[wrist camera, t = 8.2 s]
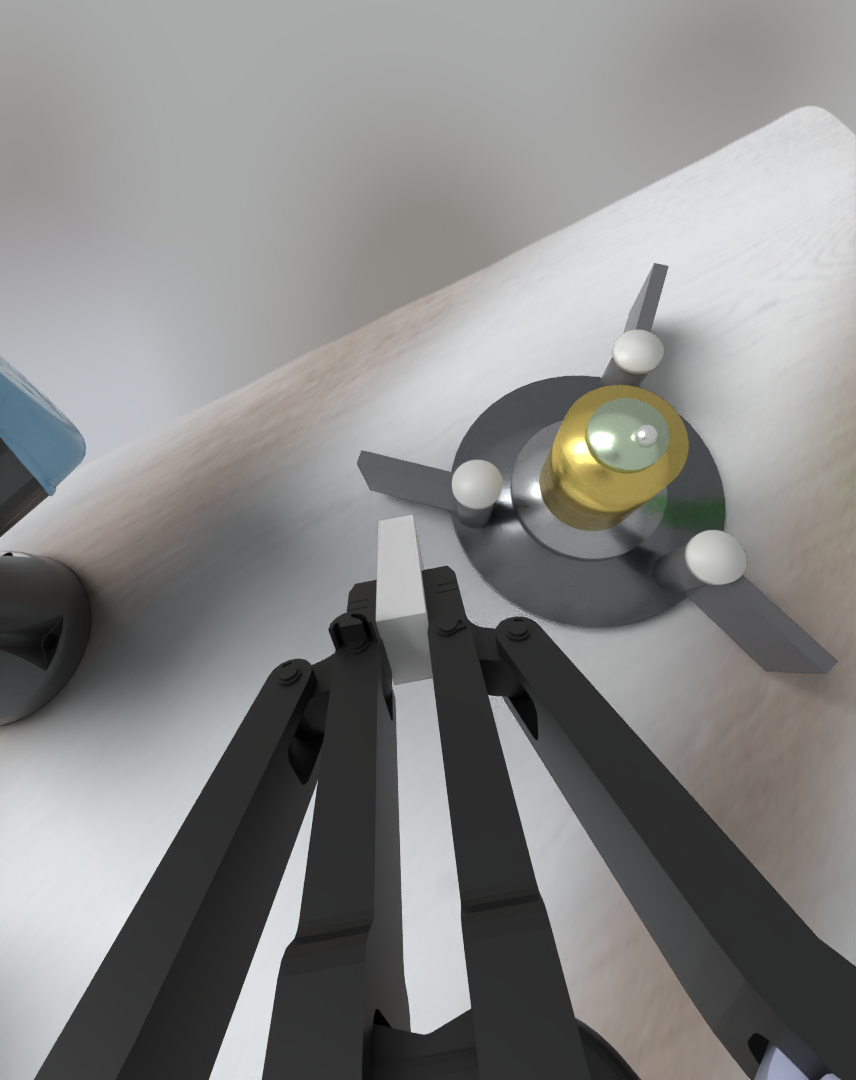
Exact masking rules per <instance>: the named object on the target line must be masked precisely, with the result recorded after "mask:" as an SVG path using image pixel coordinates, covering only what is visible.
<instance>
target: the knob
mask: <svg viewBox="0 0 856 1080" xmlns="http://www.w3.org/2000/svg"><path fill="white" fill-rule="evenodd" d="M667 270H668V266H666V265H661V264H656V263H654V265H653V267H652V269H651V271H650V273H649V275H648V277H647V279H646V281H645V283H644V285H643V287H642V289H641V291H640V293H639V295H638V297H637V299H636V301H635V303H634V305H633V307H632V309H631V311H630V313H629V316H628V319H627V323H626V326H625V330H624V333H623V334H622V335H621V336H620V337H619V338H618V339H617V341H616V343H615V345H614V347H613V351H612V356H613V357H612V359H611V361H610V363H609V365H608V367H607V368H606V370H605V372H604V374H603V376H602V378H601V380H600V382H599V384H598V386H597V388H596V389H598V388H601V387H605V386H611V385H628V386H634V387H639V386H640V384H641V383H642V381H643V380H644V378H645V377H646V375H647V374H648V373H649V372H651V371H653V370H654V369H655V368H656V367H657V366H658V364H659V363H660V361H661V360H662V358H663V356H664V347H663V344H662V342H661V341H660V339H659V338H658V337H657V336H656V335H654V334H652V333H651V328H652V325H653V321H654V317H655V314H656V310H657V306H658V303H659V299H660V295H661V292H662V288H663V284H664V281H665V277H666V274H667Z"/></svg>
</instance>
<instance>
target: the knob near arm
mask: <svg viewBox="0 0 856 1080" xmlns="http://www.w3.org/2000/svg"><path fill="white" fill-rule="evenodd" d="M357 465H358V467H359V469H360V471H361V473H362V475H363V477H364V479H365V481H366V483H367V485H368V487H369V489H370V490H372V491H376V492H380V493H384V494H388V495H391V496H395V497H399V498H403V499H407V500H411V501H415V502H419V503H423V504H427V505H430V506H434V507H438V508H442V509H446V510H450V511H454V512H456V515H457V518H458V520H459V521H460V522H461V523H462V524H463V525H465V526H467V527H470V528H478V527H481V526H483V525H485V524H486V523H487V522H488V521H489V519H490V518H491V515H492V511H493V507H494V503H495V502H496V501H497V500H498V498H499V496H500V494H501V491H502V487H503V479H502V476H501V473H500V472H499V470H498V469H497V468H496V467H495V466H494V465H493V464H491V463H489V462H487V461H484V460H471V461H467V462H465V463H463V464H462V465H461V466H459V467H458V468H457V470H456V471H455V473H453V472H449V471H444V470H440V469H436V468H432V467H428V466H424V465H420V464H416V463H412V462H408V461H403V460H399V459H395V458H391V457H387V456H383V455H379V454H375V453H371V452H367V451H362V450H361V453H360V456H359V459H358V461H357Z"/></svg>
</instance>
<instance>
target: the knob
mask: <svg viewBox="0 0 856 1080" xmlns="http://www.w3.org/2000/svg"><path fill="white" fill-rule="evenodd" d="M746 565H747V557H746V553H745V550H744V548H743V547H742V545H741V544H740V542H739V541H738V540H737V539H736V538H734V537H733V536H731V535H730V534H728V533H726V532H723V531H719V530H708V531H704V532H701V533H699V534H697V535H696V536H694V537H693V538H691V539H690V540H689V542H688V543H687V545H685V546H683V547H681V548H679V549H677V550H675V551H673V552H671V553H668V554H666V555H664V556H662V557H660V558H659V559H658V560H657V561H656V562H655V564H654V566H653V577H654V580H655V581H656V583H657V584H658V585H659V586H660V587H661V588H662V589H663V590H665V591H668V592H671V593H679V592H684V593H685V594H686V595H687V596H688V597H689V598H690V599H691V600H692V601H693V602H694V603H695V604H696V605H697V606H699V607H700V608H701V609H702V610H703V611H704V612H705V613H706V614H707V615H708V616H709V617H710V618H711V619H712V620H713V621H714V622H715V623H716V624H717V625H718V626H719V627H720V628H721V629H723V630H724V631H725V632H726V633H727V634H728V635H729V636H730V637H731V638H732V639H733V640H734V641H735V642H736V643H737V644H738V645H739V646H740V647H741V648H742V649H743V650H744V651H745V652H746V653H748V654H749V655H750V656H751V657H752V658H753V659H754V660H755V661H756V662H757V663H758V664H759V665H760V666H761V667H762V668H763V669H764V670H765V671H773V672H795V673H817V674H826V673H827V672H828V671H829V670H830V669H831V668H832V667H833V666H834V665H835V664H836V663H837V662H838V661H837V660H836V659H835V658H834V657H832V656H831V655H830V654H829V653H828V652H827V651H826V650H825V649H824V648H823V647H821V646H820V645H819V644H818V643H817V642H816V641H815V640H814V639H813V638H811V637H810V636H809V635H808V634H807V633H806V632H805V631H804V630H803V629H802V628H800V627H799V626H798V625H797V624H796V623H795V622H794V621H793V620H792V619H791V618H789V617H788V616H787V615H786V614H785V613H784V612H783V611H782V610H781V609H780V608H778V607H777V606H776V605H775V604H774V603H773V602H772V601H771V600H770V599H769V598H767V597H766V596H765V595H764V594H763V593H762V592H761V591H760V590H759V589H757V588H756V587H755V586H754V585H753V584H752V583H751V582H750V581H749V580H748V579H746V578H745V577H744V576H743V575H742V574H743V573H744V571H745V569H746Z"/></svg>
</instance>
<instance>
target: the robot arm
mask: <svg viewBox="0 0 856 1080" xmlns="http://www.w3.org/2000/svg"><path fill="white" fill-rule="evenodd" d="M85 450H86V446H85V441H84V438H83V436H82V435H81V433H80V432H79V430H78V429H77V428H76V427H75V426H74V424H73V423H72V422H71V421H70V420H69V419H68V418H67V417H66V416H65V415H64V414H63V413H62V412H61V411H60V410H59V409H58V408H57V407H56V406H55V405H54V404H53V403H52V402H51V401H50V400H49V399H48V398H47V397H46V396H45V395H44V394H42V393H41V392H40V391H39V390H38V389H37V388H36V387H35V386H34V385H33V384H32V383H31V382H30V381H28V380H27V379H26V378H25V377H24V376H23V375H22V374H21V373H20V372H19V371H17V370H16V369H15V368H14V367H13V366H12V365H11V364H10V363H8V362H7V361H6V360H5V359H4V358H3V357H2V356H0V537H1V536H2V535H4V534H5V533H6V532H7V531H8V530H9V529H11V528H12V527H13V526H14V525H15V524H16V523H18V522H19V521H20V520H21V519H22V518H23V517H25V516H26V515H27V514H28V513H29V512H30V511H32V510H33V509H34V508H35V507H36V506H37V505H38V504H40V503H41V502H42V501H43V500H44V499H45V498H47V497H48V496H52V495H54V493H55V492H56V487H57V486H58V485H59V484H60V483H61V482H62V481H63V480H64V479H65V478H66V477H67V476H68V475H69V474H70V473H71V472H72V471H73V470H74V469H75V468H76V467H77V466H78V465H79V464H80V463H81V462H82V460H83V458H84V456H85ZM89 628H90V608H89V602H88V598H87V595H86V592H85V590H84V587H83V586H82V584H81V582H80V580H79V579H78V578H77V576H76V575H75V574H74V573H73V572H72V571H71V570H70V569H69V568H67V567H66V566H65V565H63V564H61V563H59V562H57V561H55V560H52V559H50V558H46V557H41V556H37V555H33V554H29V553H24V552H16V551H0V725H4V724H8V723H11V722H14V721H17V720H20V719H22V718H24V717H26V716H28V715H30V714H32V713H33V712H35V711H36V710H38V709H39V708H41V707H42V706H44V705H45V704H46V703H47V702H49V701H50V700H51V699H52V698H53V697H54V696H55V695H56V694H57V693H58V692H59V691H60V690H61V689H62V687H63V686H64V685H65V684H66V683H67V681H68V680H69V679H70V677H71V676H72V674H73V672H74V671H75V669H76V667H77V665H78V663H79V662H80V659H81V657H82V655H83V652H84V649H85V647H86V643H87V639H88V635H89ZM328 630H329V633H330V635H331V638H332V641H333V643H334V646H335V649H336V652H335V653H334V654H333V655H331V656H330V657H328V658H326V659H325V660H322V661H320V662H318V663H316V664H313V665H311V664H310V663H309V662H308V661H306V660H304V659H293V660H289V661H287V662H284V663H282V664H281V665H279V666H278V667H277V668H275V669H274V670H273V672H272V673H271V674H270V675H269V677H268V679H267V680H266V682H265V684H264V685H263V687H262V689H261V691H260V692H259V694H258V696H257V697H256V699H255V701H254V703H253V704H252V706H251V708H250V709H249V711H248V713H247V715H246V716H245V718H244V720H243V721H242V723H241V725H240V727H239V728H238V730H237V732H236V734H235V735H234V737H233V739H232V740H231V742H230V744H229V746H228V747H227V749H226V751H225V752H224V754H223V756H222V758H221V759H220V761H219V763H218V764H217V766H216V768H215V770H214V771H213V773H212V775H211V776H210V778H209V780H208V782H207V783H206V785H205V787H204V788H203V790H202V792H201V794H200V795H199V797H198V799H197V800H196V802H195V804H194V806H193V807H192V809H191V811H190V813H189V814H188V816H187V818H186V819H185V821H184V823H183V825H182V826H181V828H180V830H179V831H178V833H177V835H176V837H175V838H174V840H173V842H172V843H171V845H170V847H169V849H168V850H167V852H166V854H165V855H164V857H163V859H162V861H161V862H160V864H159V866H158V867H157V869H156V871H155V873H154V874H153V876H152V878H151V879H150V881H149V883H148V885H147V886H146V888H145V890H144V892H143V893H142V895H141V897H140V898H139V900H138V902H137V904H136V905H135V907H134V909H133V910H132V912H131V914H130V916H129V917H128V919H127V921H126V922H125V924H124V926H123V928H122V929H121V931H120V933H119V934H118V936H117V938H116V940H115V941H114V943H113V945H112V946H111V948H110V950H109V952H108V953H107V955H106V957H105V958H104V960H103V962H102V964H101V965H100V967H99V969H98V971H97V972H96V974H95V976H94V977H93V979H92V981H91V983H90V984H89V986H88V988H87V989H86V991H85V993H84V995H83V996H82V998H81V1000H80V1001H79V1003H78V1005H77V1007H76V1008H75V1010H74V1012H73V1013H72V1015H71V1017H70V1019H69V1020H68V1022H67V1024H66V1025H65V1027H64V1029H63V1031H62V1032H61V1034H60V1036H59V1037H58V1039H57V1041H56V1043H55V1044H54V1046H53V1048H52V1050H51V1051H50V1053H49V1055H48V1056H47V1058H46V1060H45V1062H44V1063H43V1065H42V1067H41V1068H40V1070H39V1072H38V1074H37V1075H36V1077H35V1079H34V1080H209V1077H210V1075H211V1072H212V1069H213V1066H214V1064H215V1061H216V1058H217V1055H218V1053H219V1050H220V1047H221V1044H222V1042H223V1039H224V1036H225V1033H226V1031H227V1028H228V1025H229V1022H230V1020H231V1017H232V1014H233V1011H234V1009H235V1006H236V1003H237V1000H238V998H239V995H240V992H241V989H242V987H243V984H244V981H245V978H246V976H247V973H248V970H249V967H250V965H251V962H252V959H253V956H254V954H255V951H256V948H257V945H258V943H259V940H260V937H261V935H262V932H263V929H264V926H265V924H266V921H267V918H268V915H269V913H270V910H271V907H272V904H273V902H274V899H275V896H276V893H277V891H278V888H279V885H280V882H281V880H282V877H283V874H284V871H285V869H286V866H287V863H288V860H289V858H290V855H291V852H292V849H293V847H294V844H295V841H296V838H297V836H298V833H299V830H300V827H301V825H302V822H303V819H304V816H305V814H306V811H307V808H308V806H309V803H310V800H311V797H312V795H313V792H314V789H315V786H316V784H317V781H318V785H317V792H316V799H315V807H314V814H313V822H312V829H311V836H310V844H309V851H308V858H307V866H306V873H305V881H304V888H303V895H302V903H301V910H300V918H299V924H298V929H297V933H296V936H295V938H294V940H293V941H292V942H291V943H290V944H289V945H288V947H287V948H286V950H285V953H284V955H283V958H282V960H281V965H280V970H279V974H278V979H277V986H276V992H275V999H274V1005H273V1012H272V1018H271V1024H270V1031H269V1037H268V1044H267V1050H266V1057H265V1063H264V1069H263V1076H262V1080H641V1079H640V1078H639V1076H638V1075H637V1074H636V1073H635V1072H634V1071H633V1069H632V1068H631V1067H630V1066H629V1065H628V1063H627V1062H626V1061H625V1060H624V1059H623V1058H622V1057H621V1055H620V1054H619V1053H618V1052H617V1051H616V1050H615V1049H614V1048H613V1047H612V1046H611V1045H610V1044H609V1043H608V1042H607V1041H606V1040H605V1039H604V1038H603V1037H602V1036H601V1035H599V1034H598V1033H597V1032H596V1031H594V1030H593V1029H592V1028H590V1027H589V1026H588V1025H586V1024H585V1023H583V1022H582V1021H580V1020H578V1019H576V1018H575V1016H574V1012H573V1008H572V1005H571V1001H570V997H569V993H568V990H567V986H566V982H565V978H564V974H563V971H562V967H561V963H560V959H559V955H558V952H557V948H556V944H555V940H554V936H553V933H552V929H551V925H550V922H549V918H548V914H547V911H546V908H545V905H544V902H543V899H542V897H541V895H540V892H539V889H538V886H537V882H536V879H535V875H534V871H533V867H532V863H531V859H530V856H529V852H528V848H527V844H526V840H525V836H524V832H523V829H522V825H521V821H520V817H519V813H518V809H517V805H516V801H515V798H514V794H513V790H512V786H511V782H510V778H509V774H508V771H507V767H506V763H505V759H504V755H503V751H502V747H501V744H500V740H499V736H498V732H497V728H496V724H495V720H494V716H493V713H492V709H491V705H490V701H489V697H488V695H493V696H503V698H504V701H505V702H506V704H507V706H508V707H509V709H510V710H511V712H512V714H513V715H514V717H515V718H516V720H517V722H518V723H519V725H520V726H521V728H522V730H523V731H524V733H525V734H526V736H527V738H528V739H529V741H530V742H531V744H532V746H533V747H534V749H535V750H536V752H537V754H538V755H539V757H540V758H541V760H542V762H543V763H544V765H545V767H546V768H547V770H548V771H549V773H550V775H551V776H552V778H553V779H554V781H555V783H556V784H557V786H558V787H559V789H560V791H561V792H562V794H563V795H564V797H565V799H566V800H567V802H568V803H569V805H570V807H571V808H572V810H573V811H574V813H575V815H576V816H577V818H578V819H579V821H580V823H581V824H582V826H583V827H584V829H585V831H586V832H587V834H588V835H589V837H590V839H591V840H592V842H593V843H594V845H595V847H596V848H597V850H598V851H599V853H600V855H601V856H602V858H603V859H604V861H605V863H606V864H607V866H608V867H609V869H610V871H611V872H612V874H613V876H614V877H615V879H616V880H617V882H618V884H619V885H620V887H621V888H622V890H623V892H624V893H625V895H626V896H627V898H628V900H629V901H630V903H631V904H632V906H633V908H634V909H635V911H636V912H637V914H638V916H639V917H640V919H641V920H642V922H643V924H644V925H645V927H646V928H647V930H648V932H649V933H650V935H651V936H652V938H653V940H654V941H655V943H656V944H657V946H658V948H659V949H660V951H661V952H662V954H663V956H664V957H665V959H666V960H667V962H668V964H669V965H670V967H671V968H672V970H673V972H674V973H675V975H676V976H677V978H678V980H679V981H680V983H681V985H682V986H683V988H684V989H685V991H686V993H687V994H688V995H689V997H690V998H691V1000H692V1001H693V1003H694V1004H695V1006H696V1007H697V1009H698V1010H699V1012H700V1013H701V1015H702V1016H703V1018H704V1019H705V1021H706V1022H707V1024H708V1025H709V1027H710V1028H711V1030H712V1031H713V1032H714V1034H715V1035H716V1036H717V1038H718V1039H719V1040H720V1041H721V1043H722V1044H723V1045H724V1047H725V1048H726V1049H727V1050H728V1052H729V1053H730V1054H731V1056H732V1057H733V1058H734V1059H735V1061H736V1062H737V1063H738V1065H739V1066H740V1067H741V1068H742V1070H743V1071H744V1072H745V1074H746V1075H747V1076H748V1077H749V1078H750V1079H751V1080H856V967H855V966H854V965H853V964H852V963H850V962H849V961H848V960H846V959H845V958H844V957H842V956H841V955H840V954H839V953H837V952H836V951H835V950H833V949H832V948H831V947H829V946H828V945H827V944H826V943H824V942H823V941H822V940H820V939H819V938H818V937H817V936H816V935H815V934H814V933H813V932H812V930H811V929H810V928H809V927H808V926H807V925H806V924H805V923H804V921H803V920H802V919H801V918H800V917H799V916H798V915H797V914H796V913H795V911H794V910H793V909H792V908H791V907H790V906H789V905H788V904H787V902H786V901H785V900H784V899H783V898H782V897H781V896H780V895H779V893H778V892H777V891H776V890H775V889H774V888H773V887H772V886H771V885H770V883H769V882H768V881H767V880H766V879H765V878H764V877H763V876H762V874H761V873H760V872H759V871H758V870H757V869H756V868H755V867H754V865H753V864H752V863H751V862H750V861H749V860H748V859H747V858H746V857H745V855H744V854H743V853H742V852H741V851H740V850H739V849H738V848H737V846H736V845H735V844H734V843H733V842H732V841H731V840H730V839H729V837H728V836H727V835H726V834H725V833H724V832H723V831H722V830H721V829H720V827H719V826H718V825H717V824H716V823H715V822H714V821H713V820H712V818H711V817H710V816H709V815H708V814H707V813H706V812H705V811H704V810H703V808H702V807H701V806H700V805H699V804H698V803H697V802H696V801H695V799H694V798H693V797H692V796H691V795H690V794H689V793H688V792H687V790H686V789H685V788H684V787H683V786H682V785H681V784H680V783H679V782H678V780H677V779H676V778H675V777H674V776H673V775H672V774H671V773H670V771H669V770H668V769H667V768H666V767H665V766H664V765H663V764H662V762H661V761H660V760H659V759H658V758H657V757H656V756H655V755H654V754H653V752H652V751H651V750H650V749H649V748H648V747H647V746H646V745H645V743H644V742H643V741H642V740H641V739H640V738H639V737H638V736H637V734H636V733H635V732H634V731H633V730H632V729H631V728H630V727H629V726H628V724H627V723H626V722H625V721H624V720H623V719H622V718H621V717H620V715H619V714H618V713H617V712H616V711H615V710H614V709H613V708H612V706H611V705H610V704H609V703H608V702H607V701H606V700H605V699H604V698H603V696H602V695H601V694H600V693H599V692H598V691H597V690H596V689H595V687H594V686H593V685H592V684H591V683H590V682H589V681H588V680H587V678H586V677H585V676H584V675H583V674H582V673H581V672H580V671H579V670H578V668H577V667H576V666H575V665H574V664H573V663H572V662H571V661H570V659H569V658H568V657H567V656H566V655H565V654H564V653H563V652H562V651H561V649H560V648H559V647H558V646H557V645H556V644H555V643H554V642H553V640H552V639H551V638H550V637H549V636H548V635H547V634H546V633H545V631H544V630H543V629H542V628H541V627H540V626H539V625H538V624H537V623H536V622H534V621H533V620H531V619H528V618H525V617H512V618H507V619H505V620H504V621H502V622H500V623H499V625H498V626H497V627H496V629H493V628H483V627H479V626H476V625H474V624H473V623H471V622H470V621H469V620H468V619H467V616H466V614H465V610H464V606H463V602H462V598H461V594H460V591H459V587H458V583H457V579H456V575H455V572H454V571H453V570H452V569H450V568H449V567H448V566H443V567H438V568H433V569H427V570H424V567H423V562H422V557H421V552H420V547H419V542H418V537H417V532H416V527H415V523H414V518H413V514H412V515H407V516H402V517H396V518H391V519H386V520H380V521H378V556H377V580H374V581H368V582H363V583H358V584H355V585H354V587H353V588H352V590H351V591H350V593H349V598H348V606H347V613H344V614H342V615H340V616H339V617H337V618H336V619H335V620H334V621H333V622H332V623H331V624H330V627H329V629H328ZM429 678H433V682H434V690H435V698H436V706H437V714H438V722H439V730H440V738H441V746H442V754H443V762H444V770H445V778H446V786H447V794H448V802H449V810H450V818H451V826H452V834H453V842H454V850H455V858H456V866H457V874H458V882H459V890H460V899H461V923H462V933H463V942H464V951H465V959H466V967H467V976H468V984H469V992H470V1000H471V1009H470V1010H468V1011H466V1012H465V1013H463V1014H461V1015H460V1016H458V1017H457V1018H455V1019H453V1020H452V1021H450V1022H448V1023H447V1024H445V1025H443V1026H442V1027H440V1028H438V1029H437V1030H435V1031H434V1032H432V1033H430V1034H425V1035H422V1034H417V1033H412V1032H411V1028H410V1013H409V1004H408V996H407V990H406V985H405V977H404V964H403V933H402V900H401V868H400V835H399V803H398V770H397V738H396V706H395V696H394V693H393V689H392V679H393V682H394V685H397V684H403V683H408V682H413V681H419V680H424V679H429Z"/></svg>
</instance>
